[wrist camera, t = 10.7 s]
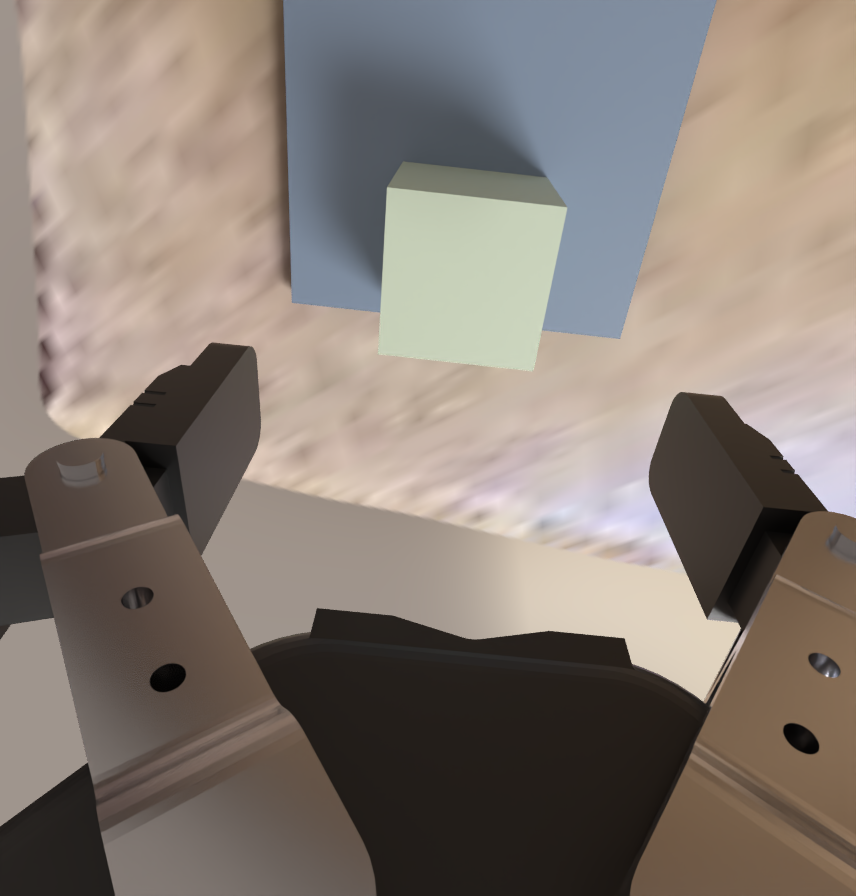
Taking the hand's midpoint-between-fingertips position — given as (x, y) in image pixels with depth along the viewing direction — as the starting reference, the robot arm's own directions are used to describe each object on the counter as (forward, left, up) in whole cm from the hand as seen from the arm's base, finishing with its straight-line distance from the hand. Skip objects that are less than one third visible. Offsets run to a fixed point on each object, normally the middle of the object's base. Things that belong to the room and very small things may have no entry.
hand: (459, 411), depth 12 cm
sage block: (0, 0, -13) cm, 13 cm away
